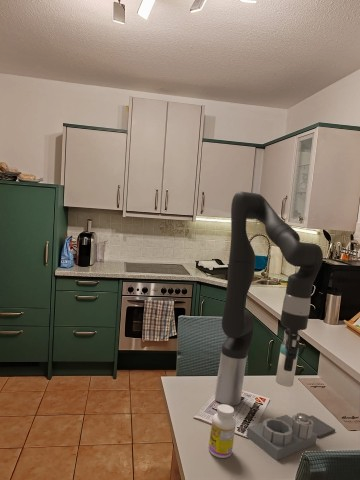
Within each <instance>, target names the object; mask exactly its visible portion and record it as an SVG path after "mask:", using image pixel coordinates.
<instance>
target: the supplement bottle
mask: <svg viewBox="0 0 360 480" xmlns="http://www.w3.org/2000/svg"><path fill="white" fill-rule="evenodd" d="M234 412H235V409H234V406H230V405H226V404H222V403H220V404H218V405H217V409H216V413H215V414H214V415H213V416H212V419H211V427H210V432H209V433H210V434H209V439H208V440H209V441H208V451H209V452H210V454H211V455H212V456H214V457H216V458H220V459H225V458H229V457H230V456H231V455H232V452H233V446H234V440H235V433H236V432H235V431H236V424H237V420H236V418H235V417H234V416H235V415H234V414H235V413H234Z"/></svg>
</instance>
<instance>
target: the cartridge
mask: <svg viewBox="0 0 360 480" xmlns="http://www.w3.org/2000/svg"><path fill="white" fill-rule="evenodd" d="M287 346H288V345H287ZM299 352H300V348H299V347H298V350H297V355H296V359H294V361H293V367H292V371H285V370H284V364H285V355H286V349H285V343H283V342H282V343H281V344H280V349H279V358H278V362H277V363H278V364H277V369H276V376H275V382H276V383H277V384H278V385H280V386H282V387H287V388H288V387H293V386H294V381H295V375H296V368H297V362H298V357H299ZM289 354H293V352H289Z"/></svg>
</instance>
